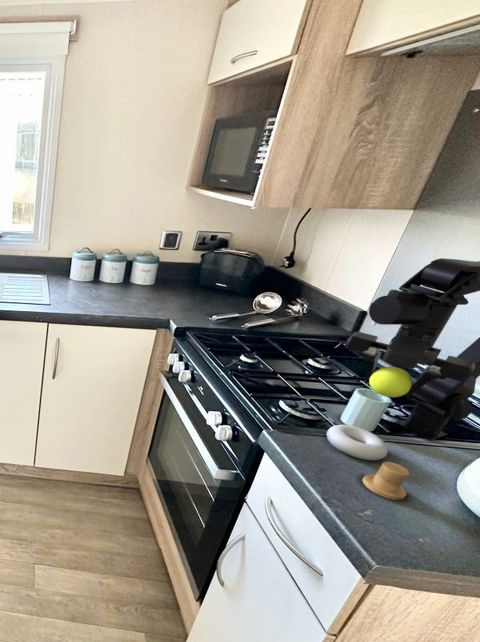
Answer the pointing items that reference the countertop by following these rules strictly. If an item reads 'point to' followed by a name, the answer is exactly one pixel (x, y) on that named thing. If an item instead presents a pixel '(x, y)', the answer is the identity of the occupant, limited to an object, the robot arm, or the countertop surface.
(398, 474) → the wooden egg stand
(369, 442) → the donut
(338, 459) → the countertop surface
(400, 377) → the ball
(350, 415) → the cup
